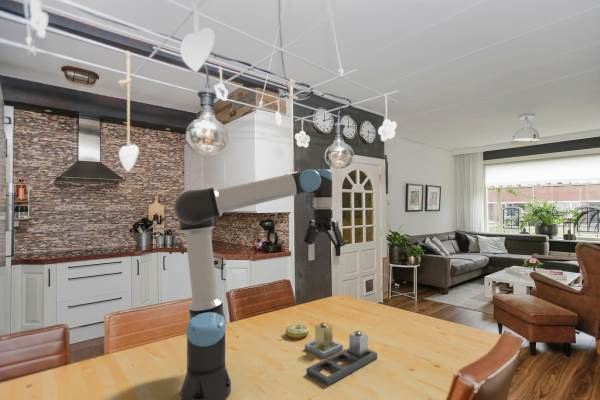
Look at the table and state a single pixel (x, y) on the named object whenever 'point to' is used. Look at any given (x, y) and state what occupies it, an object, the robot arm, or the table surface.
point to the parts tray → (335, 349)
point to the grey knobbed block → (358, 344)
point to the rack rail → (339, 366)
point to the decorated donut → (297, 331)
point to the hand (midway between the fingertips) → (323, 262)
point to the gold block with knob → (323, 337)
